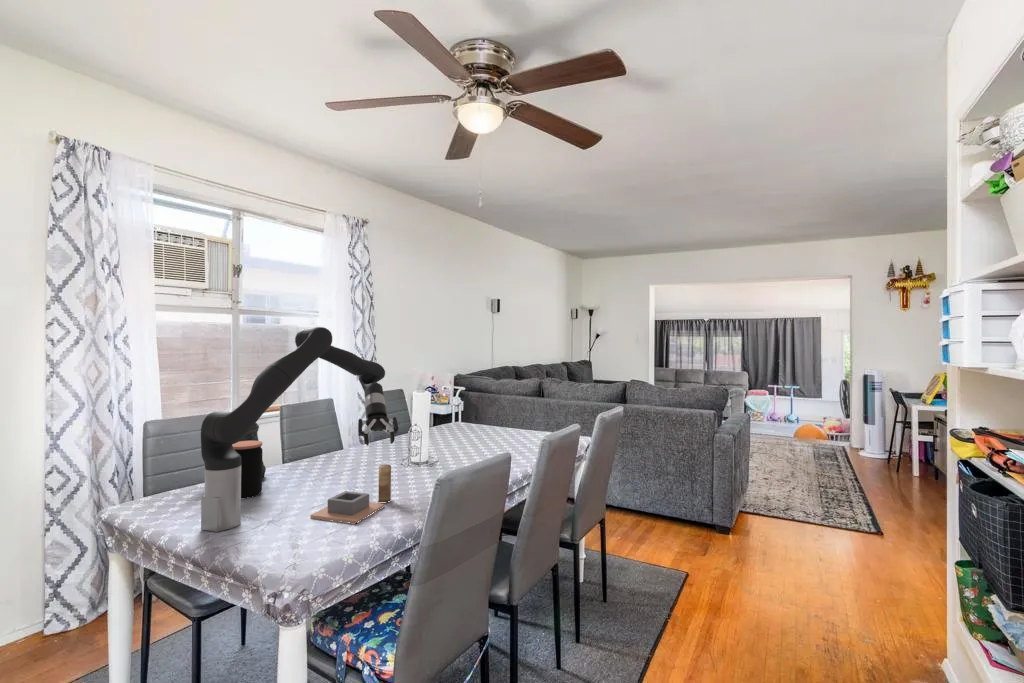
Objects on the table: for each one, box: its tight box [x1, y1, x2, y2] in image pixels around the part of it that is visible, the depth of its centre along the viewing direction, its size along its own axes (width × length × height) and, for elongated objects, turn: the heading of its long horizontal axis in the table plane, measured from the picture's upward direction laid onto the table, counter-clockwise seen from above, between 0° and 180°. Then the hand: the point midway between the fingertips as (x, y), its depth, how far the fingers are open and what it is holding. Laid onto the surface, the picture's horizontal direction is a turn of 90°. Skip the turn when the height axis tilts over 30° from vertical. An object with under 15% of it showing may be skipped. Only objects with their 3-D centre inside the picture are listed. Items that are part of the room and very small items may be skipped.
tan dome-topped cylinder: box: [378, 464, 392, 503], centre depth 167 cm, size 4×4×12 cm
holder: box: [310, 490, 386, 524], centre depth 156 cm, size 16×16×5 cm
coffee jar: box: [232, 440, 263, 499], centre depth 172 cm, size 11×11×18 cm
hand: (380, 443), depth 178 cm, fingers open, 8 cm apart
